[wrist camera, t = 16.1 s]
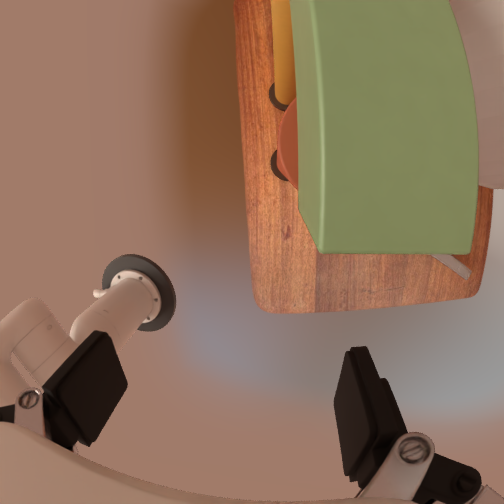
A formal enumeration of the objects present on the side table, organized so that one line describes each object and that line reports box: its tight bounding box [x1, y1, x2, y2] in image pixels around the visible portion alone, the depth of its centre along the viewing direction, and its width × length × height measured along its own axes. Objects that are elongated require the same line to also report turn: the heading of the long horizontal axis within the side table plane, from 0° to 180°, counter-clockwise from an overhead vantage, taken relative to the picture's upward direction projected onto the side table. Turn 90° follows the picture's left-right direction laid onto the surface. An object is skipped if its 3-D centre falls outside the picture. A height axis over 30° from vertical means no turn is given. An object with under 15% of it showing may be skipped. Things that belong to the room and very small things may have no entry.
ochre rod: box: [269, 0, 296, 111], centre depth 21 cm, size 6×6×38 cm
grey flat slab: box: [430, 254, 472, 280], centre depth 41 cm, size 20×2×8 cm, turn 66°
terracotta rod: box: [271, 97, 298, 190], centre depth 25 cm, size 6×6×38 cm
